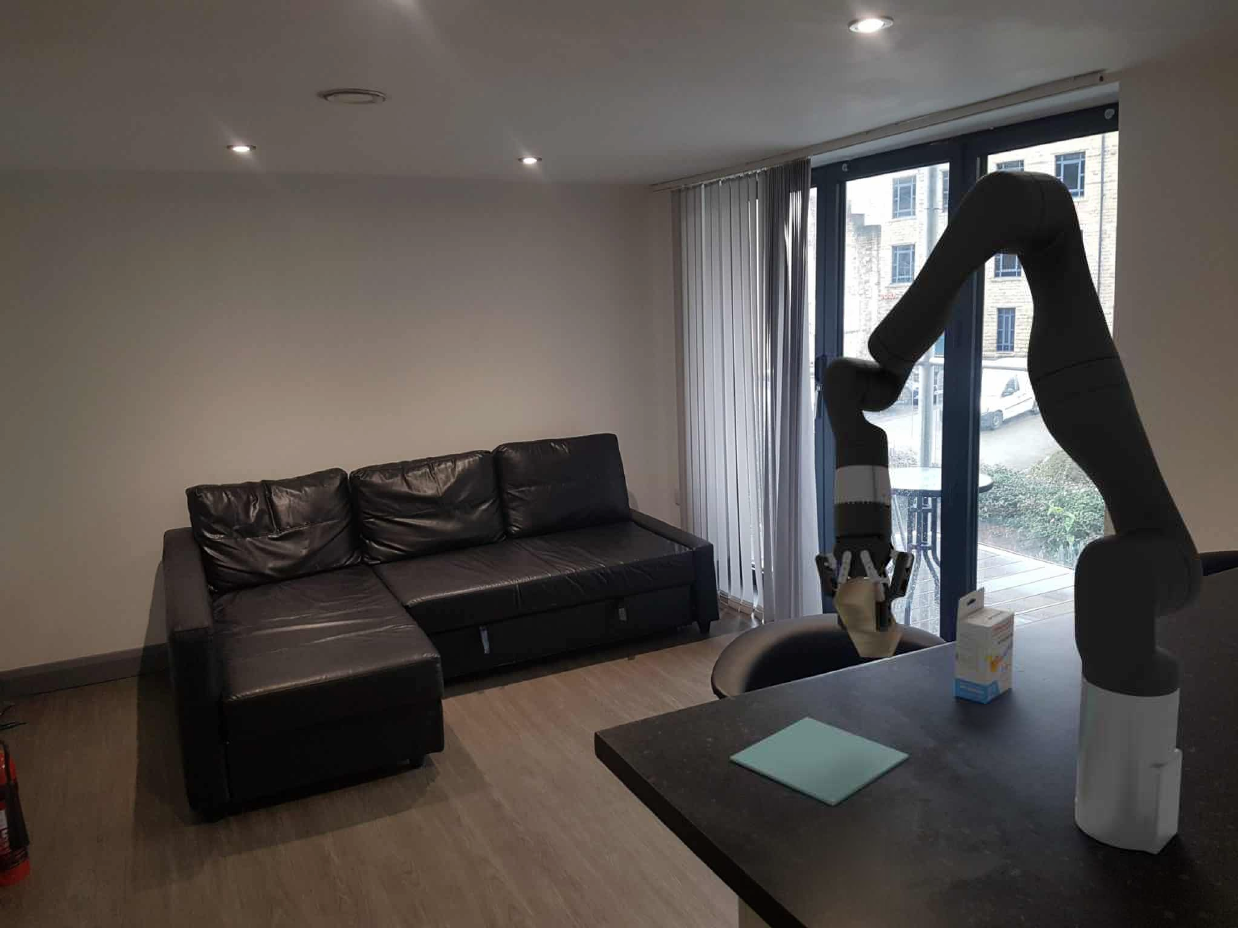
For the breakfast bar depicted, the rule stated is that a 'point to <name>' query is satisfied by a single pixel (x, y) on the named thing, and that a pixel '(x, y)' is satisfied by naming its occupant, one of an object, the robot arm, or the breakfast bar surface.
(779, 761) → the mat
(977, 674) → the ink box
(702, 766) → the breakfast bar surface
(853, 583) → the block
